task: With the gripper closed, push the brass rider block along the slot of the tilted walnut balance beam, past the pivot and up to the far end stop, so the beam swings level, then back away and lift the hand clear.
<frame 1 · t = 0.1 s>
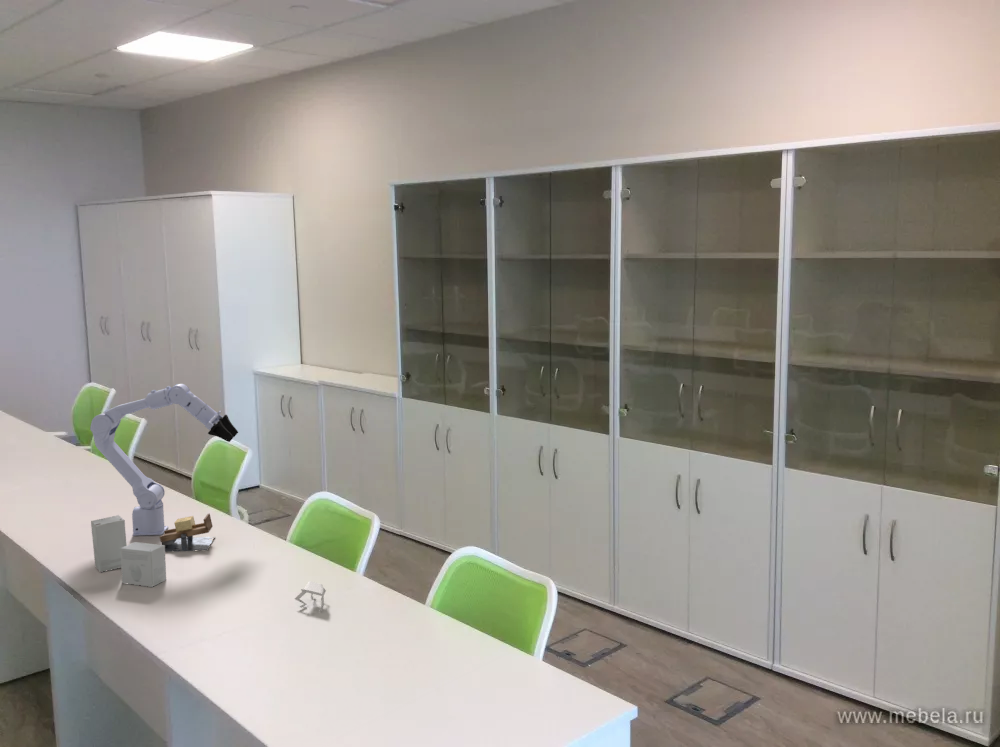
hand: (233, 437, 280), 32 cm above the table, tool tilted 50°, fingers open, 7 cm apart
balance beam: (185, 529, 269), point 5 cm above the table, hinge at 10.1°, touching brass rider
brass rider: (186, 531, 269), point 5 cm above the table, tilted 10°, touching balance beam
skincare box 2: (144, 582, 240), on the table
pivot stand: (187, 544, 270), on the table
origami figure: (314, 606, 224), on the table
skincare box: (111, 568, 250), on the table
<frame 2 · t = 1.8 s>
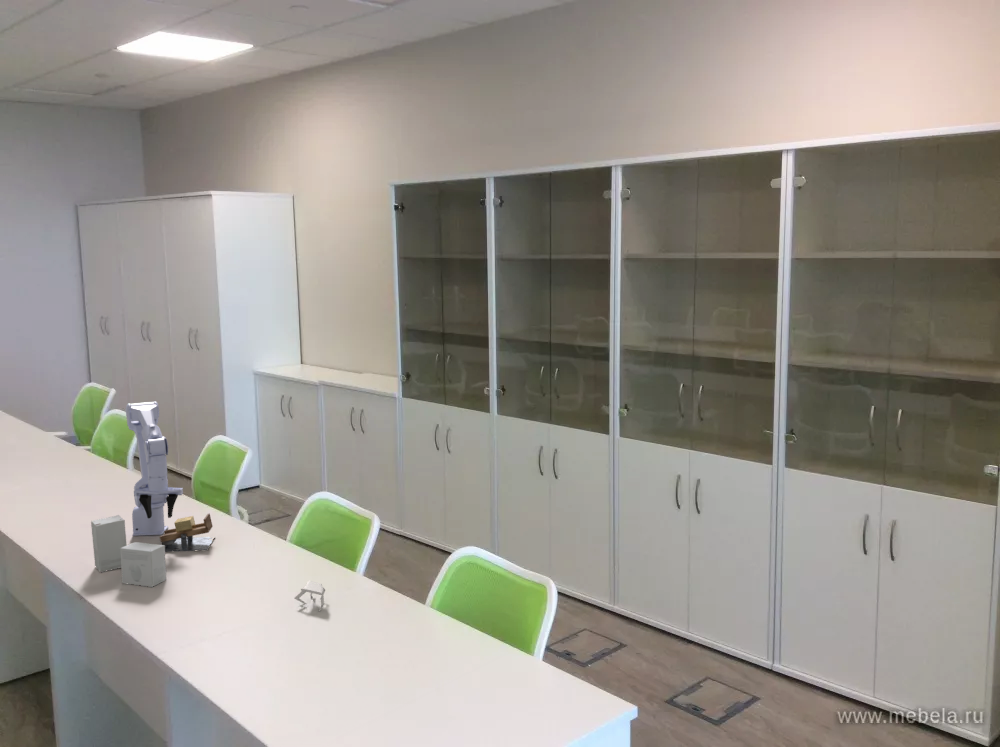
hand: (159, 517, 268), 9 cm above the table, tool pointing down, fingers open, 6 cm apart
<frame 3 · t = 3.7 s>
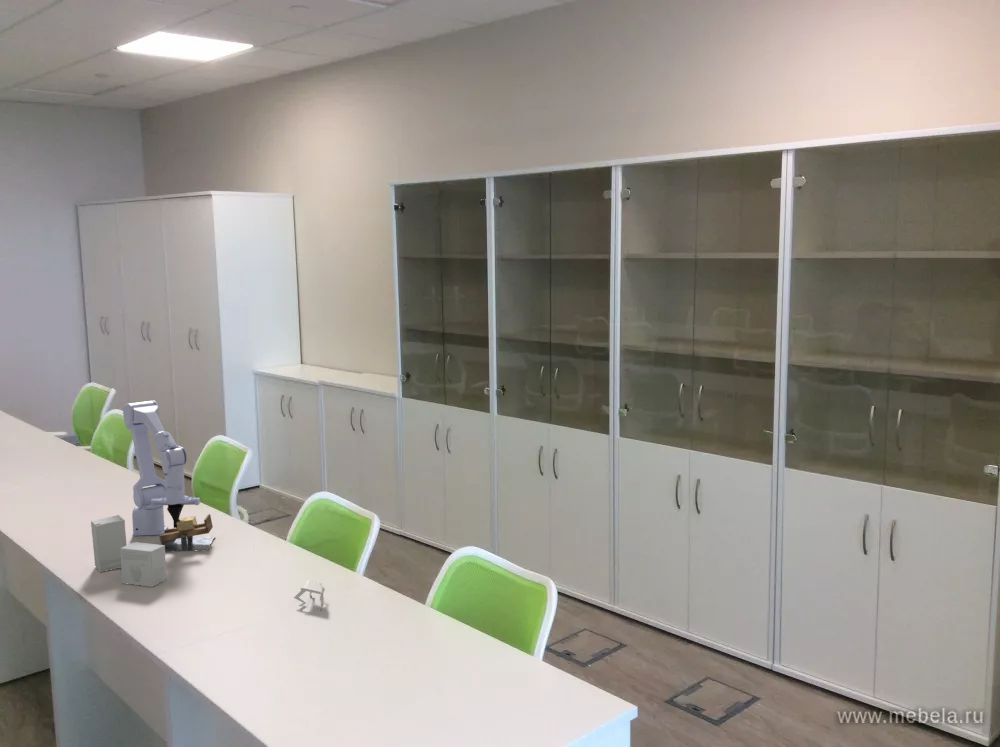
hand: (176, 526, 269), 6 cm above the table, tool pointing down, fingers closed, pressing on brass rider
balance beam: (186, 529, 269), point 5 cm above the table, hinge at 8.4°, touching brass rider
brass rider: (188, 530, 269), point 5 cm above the table, tilted 8°, touching balance beam, gripper
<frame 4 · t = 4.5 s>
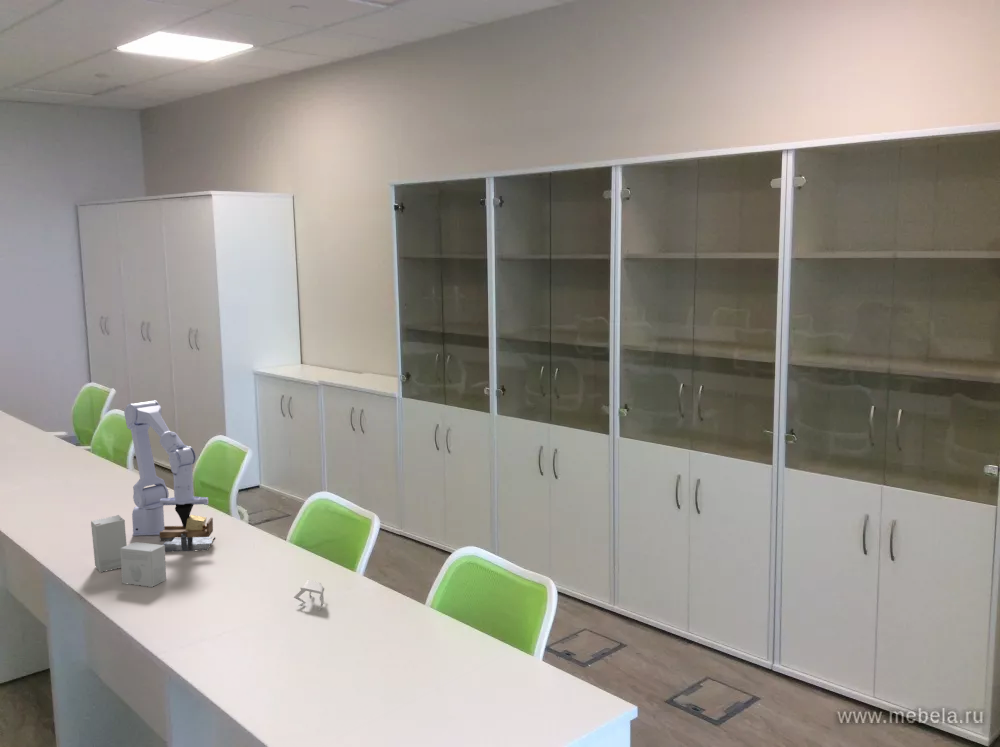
hand: (185, 526, 269), 6 cm above the table, tool pointing down, fingers closed, pressing on brass rider
balance beam: (186, 529, 269), point 5 cm above the table, hinge at -1.3°, touching brass rider
brass rider: (195, 529, 270), point 5 cm above the table, tilted 12°, touching balance beam, gripper
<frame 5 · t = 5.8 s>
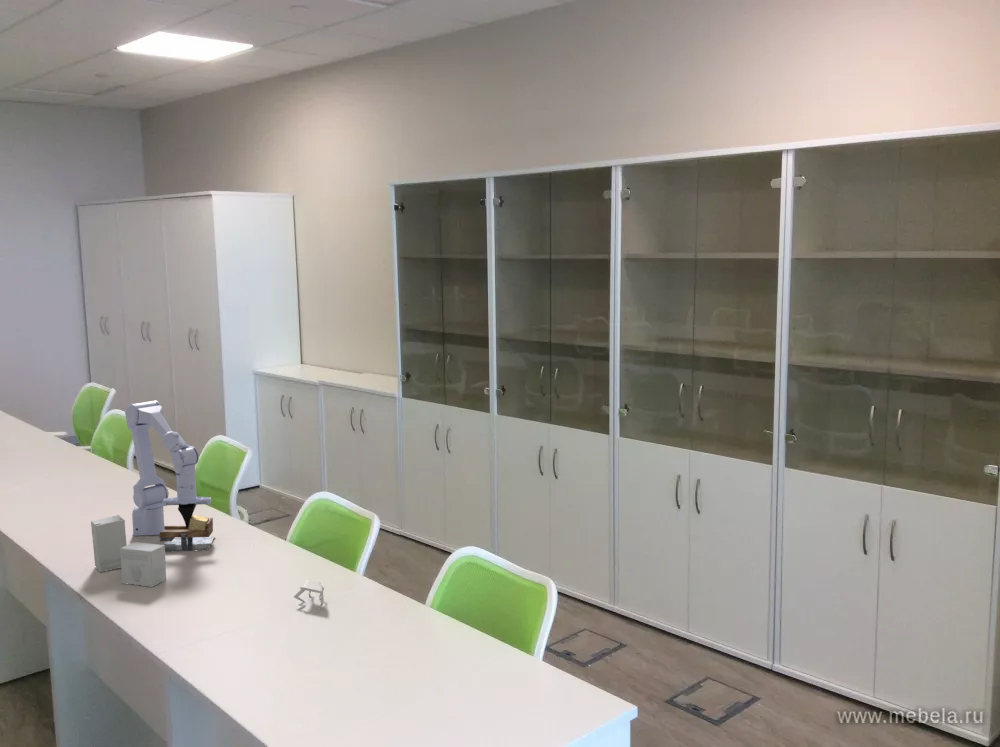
hand: (188, 526, 269), 6 cm above the table, tool pointing down, fingers closed, pressing on brass rider
balance beam: (186, 529, 269), point 5 cm above the table, hinge at -1.7°, touching brass rider
brass rider: (197, 529, 270), point 5 cm above the table, tilted 12°, touching balance beam, gripper
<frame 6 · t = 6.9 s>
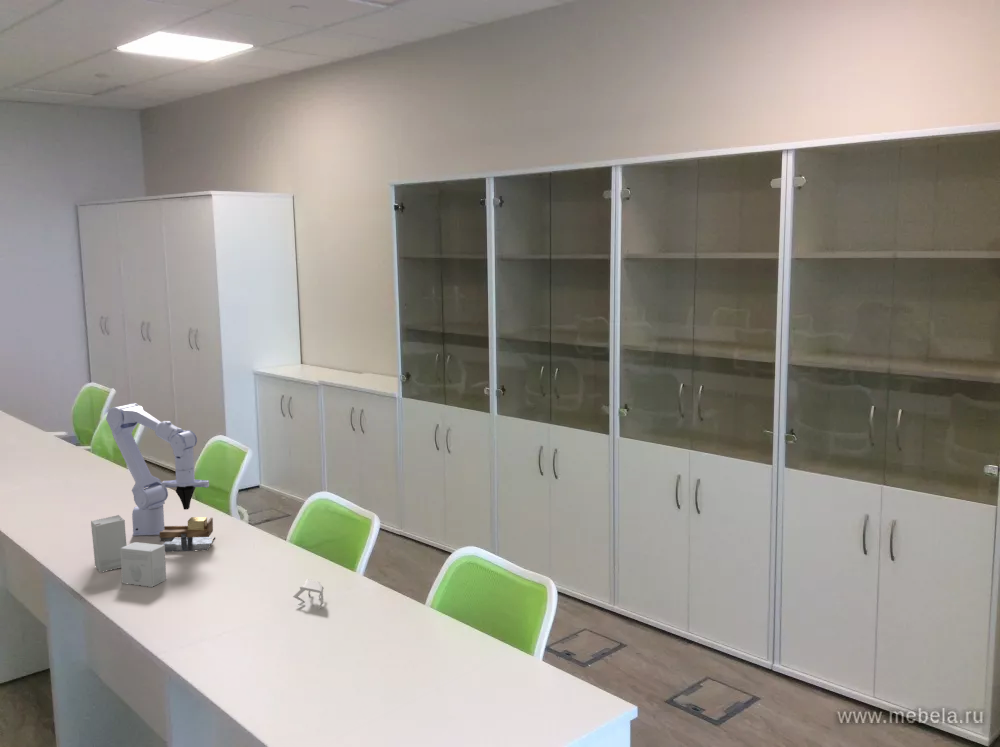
hand: (186, 508, 275), 10 cm above the table, tool pointing down, fingers closed
balance beam: (186, 529, 269), point 5 cm above the table, hinge at -1.3°, touching brass rider
brass rider: (197, 531, 270), point 4 cm above the table, touching balance beam
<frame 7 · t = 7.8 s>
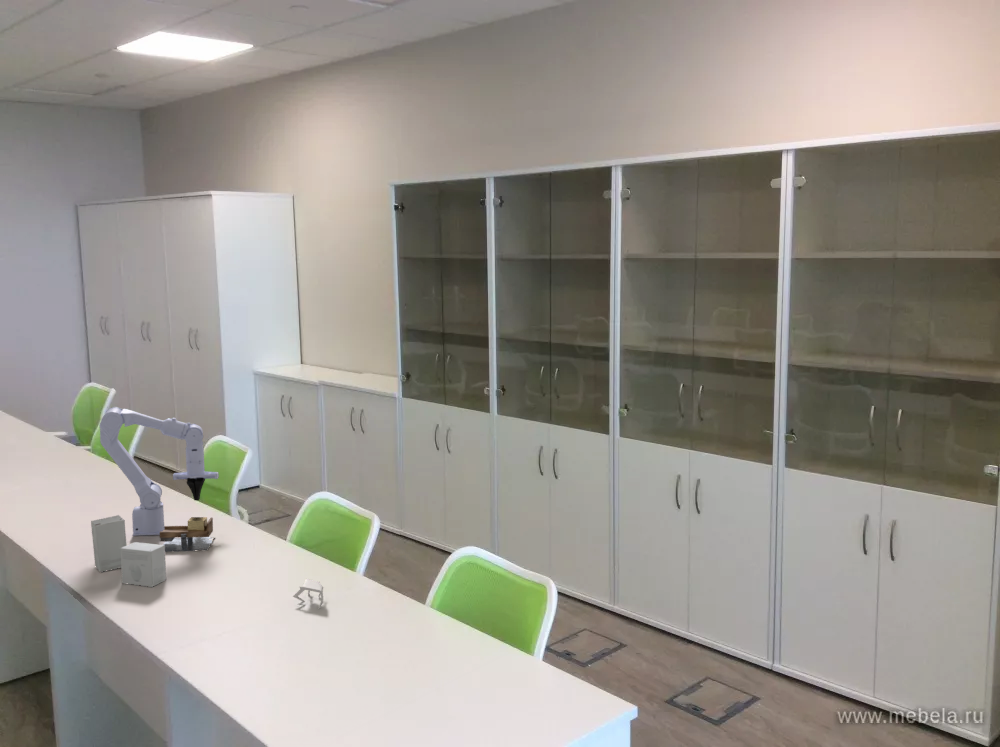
hand: (196, 499, 285), 10 cm above the table, tool pointing down, fingers closed
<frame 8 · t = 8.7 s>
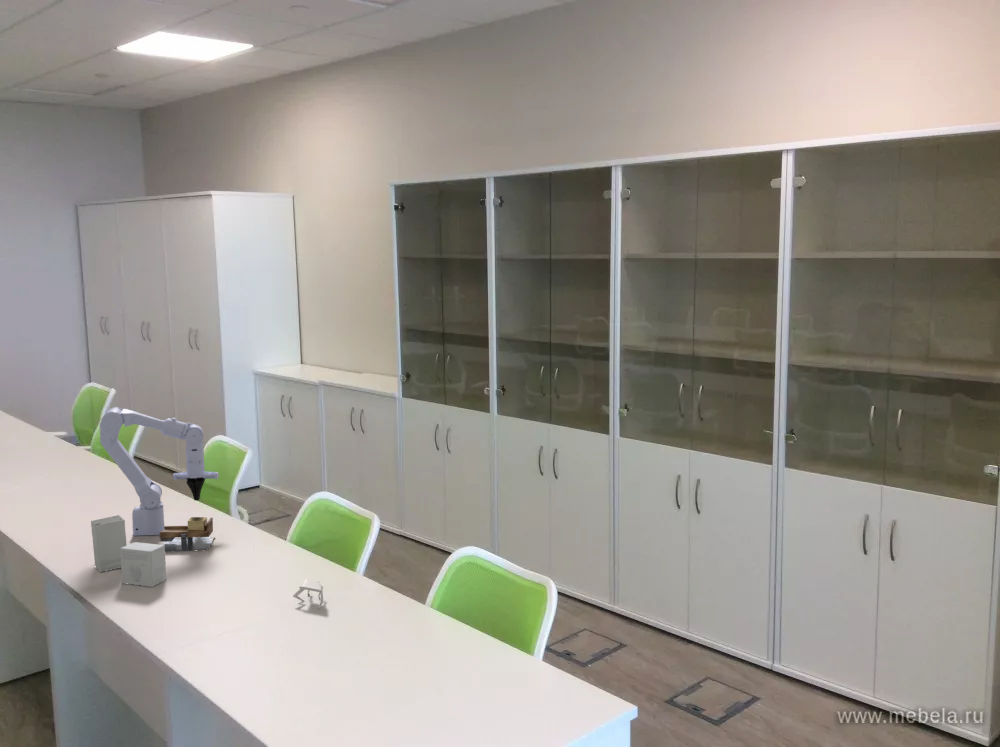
hand: (196, 499, 285), 10 cm above the table, tool pointing down, fingers closed
at the end: balance beam at -1° (first picture: +10°); brass rider 0.5 cm from the target spot on the balance beam, point 0.4 cm above the balance beam's base; brass rider tilted 1° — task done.
